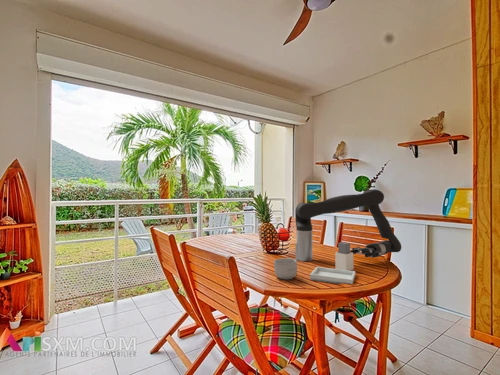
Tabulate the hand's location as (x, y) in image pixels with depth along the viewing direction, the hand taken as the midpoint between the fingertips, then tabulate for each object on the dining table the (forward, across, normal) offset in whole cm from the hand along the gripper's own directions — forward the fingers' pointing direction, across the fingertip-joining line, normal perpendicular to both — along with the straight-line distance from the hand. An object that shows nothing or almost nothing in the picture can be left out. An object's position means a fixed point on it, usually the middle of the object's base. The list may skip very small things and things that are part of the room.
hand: (358, 253), depth 145 cm
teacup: (+43, -9, +7) cm, 44 cm away
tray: (+27, +5, +7) cm, 28 cm away
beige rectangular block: (+11, 0, +7) cm, 13 cm away
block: (+11, 0, +6) cm, 13 cm away
